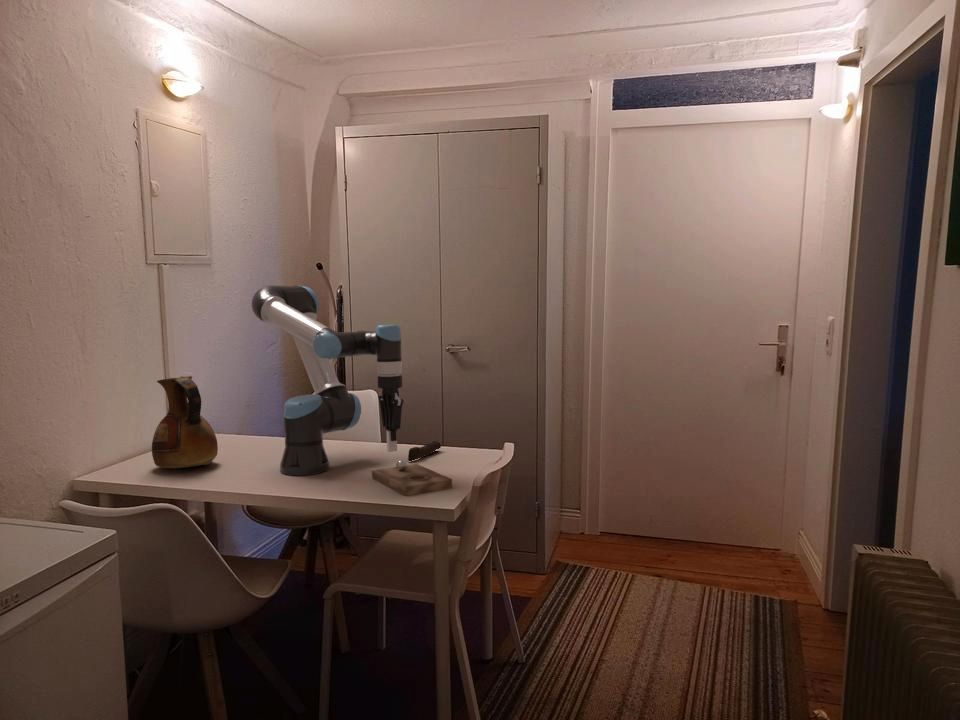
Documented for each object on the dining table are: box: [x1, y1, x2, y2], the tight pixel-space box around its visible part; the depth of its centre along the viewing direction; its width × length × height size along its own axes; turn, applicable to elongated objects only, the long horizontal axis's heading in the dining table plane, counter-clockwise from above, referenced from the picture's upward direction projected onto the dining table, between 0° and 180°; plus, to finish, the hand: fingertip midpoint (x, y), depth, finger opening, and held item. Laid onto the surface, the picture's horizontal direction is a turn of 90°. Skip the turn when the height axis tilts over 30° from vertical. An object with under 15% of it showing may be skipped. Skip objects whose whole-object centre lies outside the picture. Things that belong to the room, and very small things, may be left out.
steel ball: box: [396, 459, 408, 471], centre depth 209 cm, size 3×3×3 cm
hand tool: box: [407, 440, 442, 461], centre depth 239 cm, size 19×4×5 cm, turn 152°
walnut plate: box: [371, 463, 453, 497], centre depth 205 cm, size 15×22×2 cm
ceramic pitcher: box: [151, 375, 219, 469], centre depth 224 cm, size 20×20×30 cm
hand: (392, 450), depth 215 cm, fingers closed
